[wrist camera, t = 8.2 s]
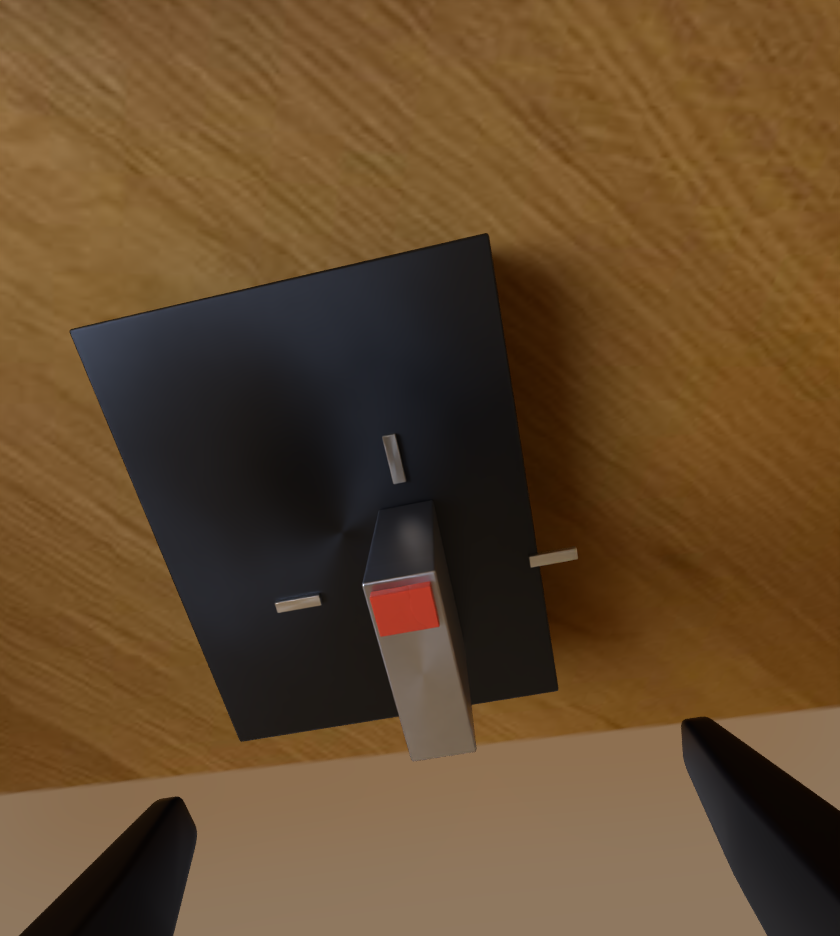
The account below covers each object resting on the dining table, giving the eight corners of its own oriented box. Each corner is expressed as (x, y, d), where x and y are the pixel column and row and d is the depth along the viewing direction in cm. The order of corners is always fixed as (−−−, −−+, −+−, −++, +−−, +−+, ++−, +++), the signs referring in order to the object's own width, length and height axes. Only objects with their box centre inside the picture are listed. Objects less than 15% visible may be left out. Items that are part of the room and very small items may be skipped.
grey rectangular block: (464, 643, 16) (478, 761, 12) (414, 652, 16) (411, 771, 12) (433, 498, 14) (435, 576, 10) (378, 509, 14) (359, 590, 10)
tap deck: (567, 629, 19) (594, 689, 16) (266, 680, 20) (237, 746, 17) (513, 237, 15) (535, 220, 12) (132, 325, 16) (62, 329, 13)
